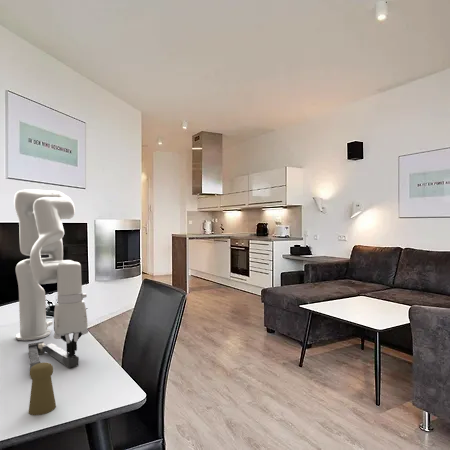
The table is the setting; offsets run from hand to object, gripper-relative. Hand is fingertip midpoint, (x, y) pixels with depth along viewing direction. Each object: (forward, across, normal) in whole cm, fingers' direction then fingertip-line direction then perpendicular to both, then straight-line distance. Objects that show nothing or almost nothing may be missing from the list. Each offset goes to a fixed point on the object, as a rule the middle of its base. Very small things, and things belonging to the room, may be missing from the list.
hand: (71, 353), depth 122 cm
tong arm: (+2, +4, -3) cm, 5 cm away
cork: (+3, +12, +31) cm, 33 cm away
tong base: (+2, +10, -4) cm, 11 cm away
